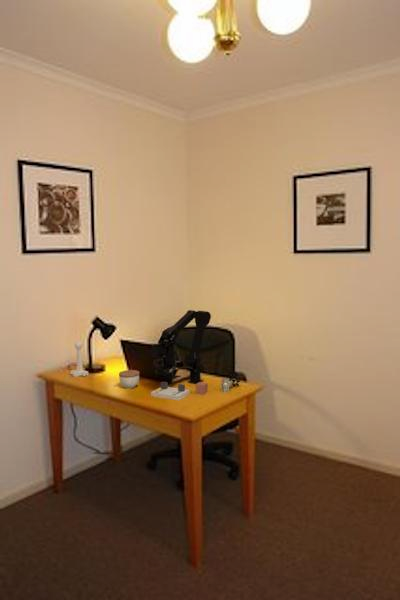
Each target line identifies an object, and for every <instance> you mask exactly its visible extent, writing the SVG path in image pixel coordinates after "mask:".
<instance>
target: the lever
mask: <svg viewBox="0 0 400 600" xmlns="http://www.w3.org/2000/svg"><path fill="white" fill-rule="evenodd" d="M185 385H186V384H185V383H178V384H177V388H178V391H185V389H186V386H185Z"/></svg>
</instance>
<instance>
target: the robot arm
mask: <svg viewBox="0 0 400 600" xmlns="http://www.w3.org/2000/svg"><path fill="white" fill-rule="evenodd" d="M211 318H212V315H211V313H210V312H209V311H206V310H198V311H196V310H194V309H193V310H192V309H189V310H187V311H186V313H184V315H183V316H182V317H180V318H179V320H178V321H177V322H175V323H174V324H173V325H170V326H169V327H167V328H166V329H164V330H162V332H161V336H160V337H159V339H158V341H157V343H153V344H152V346H151V347H150V355H151V357H153V358H154V360H153V366H154V367H155V368H156V369H155V374H156V375H164V376H166V379H167V382H168V384H170V385H171V384H173V381H174V379H175V377H176V376H177V373H178V371H179V369H178V368H177V367H179V368H183V367H185V368H186V370H187V371H189V380H188V381H187V383H191V384H195V385H196V384H197V383H199V382H204V379H202V378H201V377H202V374H201V373H203V372H204V371H205V367H204V366H203V365H202V363H201V356H200V355H201V354H200V351H201V347H202V343H203V339H204V334H205V331H206V328H207V326H208V325H209V323H210V321H211ZM193 320H194V322H195V330H194V335H193V339H192V344H191V347H190V352H189V353H186V354H185V355H184V360H183V361H182V360H176V359H177V358H178V356H177V355H176V346H177V345H179V342H177V341H176V340H177V339H178V338H179V336H180V333H181V332H182V331H183V330H184V329H185V328H186V327H187V326H188V325H189V324H190V323H191V322H192V321H193ZM159 357H160V358H161V360H160V359H158V358H159ZM155 358H156V359H155Z"/></svg>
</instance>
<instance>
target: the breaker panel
mask: <svg viewBox="0 0 400 600" xmlns="http://www.w3.org/2000/svg"><path fill="white" fill-rule="evenodd" d="M190 393H191V391H190V389H186V388H185V391H178V387H172V386H171V387H170V386H168V388H167V389H163V388H161V386H159V387H158V388H157V389H154V390H152V391H151V392H150V397H153V396H154V398H161V399H167V400H174V401H180V400H182V399H183V398H185V397H187V396H189V395H190Z"/></svg>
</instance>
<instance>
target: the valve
mask: <svg viewBox="0 0 400 600" xmlns="http://www.w3.org/2000/svg"><path fill="white" fill-rule="evenodd" d="M239 378H240V377H239V376H236V374H235V373H234V374H231V375H229V377H223V378H222V379H221V392H222V393H229V392H230V387H231V386H232V387H234V388H235V387H238V386H239V385H240V384H239V383H240V382H241V380H240V379H239Z"/></svg>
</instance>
